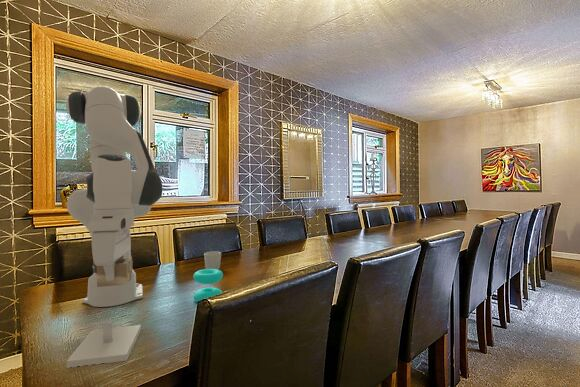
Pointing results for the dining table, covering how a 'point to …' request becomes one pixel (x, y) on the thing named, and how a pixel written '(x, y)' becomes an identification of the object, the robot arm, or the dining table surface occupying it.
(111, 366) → the dining table surface
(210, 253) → the cup
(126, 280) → the collar
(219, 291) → the donuts
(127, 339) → the post board
